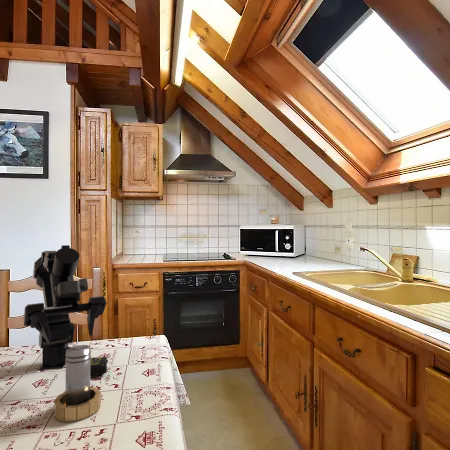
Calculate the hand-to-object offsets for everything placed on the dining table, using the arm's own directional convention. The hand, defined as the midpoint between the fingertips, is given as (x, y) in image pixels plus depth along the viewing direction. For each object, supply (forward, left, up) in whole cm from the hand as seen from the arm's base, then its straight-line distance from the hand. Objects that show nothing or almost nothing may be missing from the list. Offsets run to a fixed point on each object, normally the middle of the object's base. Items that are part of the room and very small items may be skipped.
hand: (71, 339), depth 77 cm
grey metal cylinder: (+4, -7, -13) cm, 15 cm away
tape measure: (+3, +13, -14) cm, 19 cm away
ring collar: (+4, -7, -13) cm, 16 cm away
